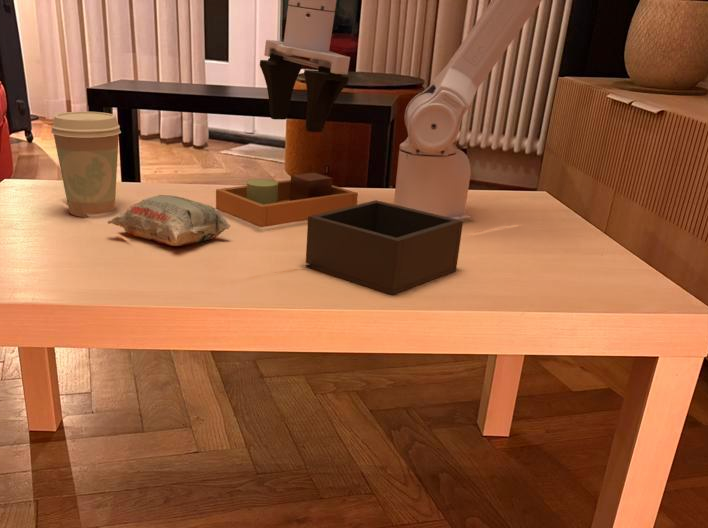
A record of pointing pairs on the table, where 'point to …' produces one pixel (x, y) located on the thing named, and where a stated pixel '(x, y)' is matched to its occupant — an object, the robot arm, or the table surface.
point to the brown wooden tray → (281, 205)
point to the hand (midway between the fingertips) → (295, 125)
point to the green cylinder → (262, 191)
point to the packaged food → (171, 220)
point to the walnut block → (309, 186)
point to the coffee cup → (87, 160)
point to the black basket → (383, 245)
